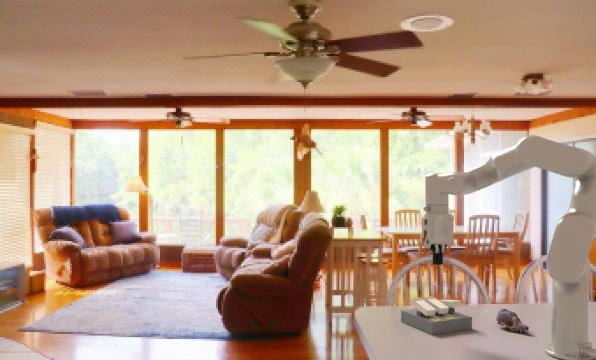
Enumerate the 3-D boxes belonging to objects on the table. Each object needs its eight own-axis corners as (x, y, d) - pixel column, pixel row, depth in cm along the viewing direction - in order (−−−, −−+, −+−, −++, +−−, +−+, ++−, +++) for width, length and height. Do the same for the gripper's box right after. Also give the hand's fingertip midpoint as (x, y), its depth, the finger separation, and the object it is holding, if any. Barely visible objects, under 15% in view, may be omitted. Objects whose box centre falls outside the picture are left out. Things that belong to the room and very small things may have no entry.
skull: (534, 334, 172) (534, 315, 172) (514, 336, 170) (514, 317, 170) (511, 324, 183) (511, 307, 183) (491, 325, 181) (492, 308, 181)
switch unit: (472, 328, 177) (472, 312, 177) (431, 334, 170) (432, 318, 170) (439, 316, 193) (439, 301, 193) (401, 321, 186) (401, 306, 186)
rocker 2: (447, 312, 178) (448, 307, 178) (439, 314, 177) (440, 308, 176) (431, 301, 186) (432, 296, 186) (423, 302, 185) (424, 296, 184)
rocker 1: (434, 314, 176) (436, 309, 176) (426, 316, 175) (427, 310, 174) (418, 302, 184) (419, 297, 183) (410, 303, 182) (411, 298, 182)
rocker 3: (461, 306, 180) (460, 300, 180) (453, 307, 179) (452, 301, 179) (444, 305, 188) (443, 299, 189) (436, 306, 187) (435, 300, 187)
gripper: (426, 211, 169) (427, 267, 169) (462, 209, 175) (462, 264, 175) (412, 210, 176) (412, 264, 175) (446, 208, 182) (447, 261, 182)
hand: (437, 264), depth 175 cm, fingers closed
